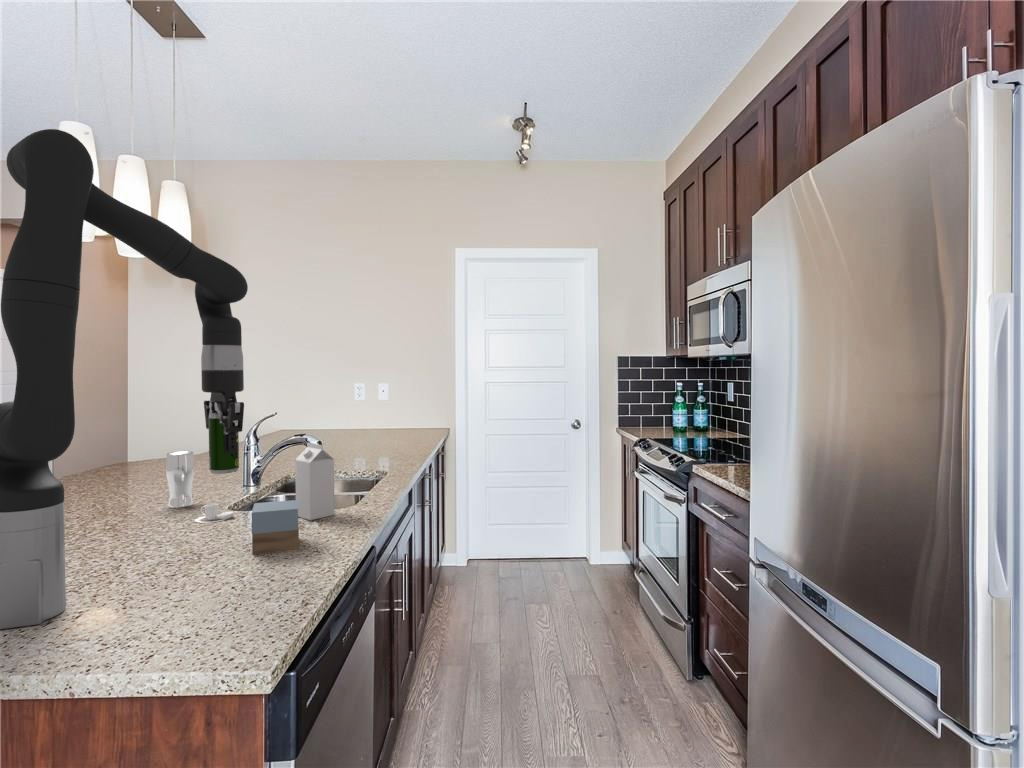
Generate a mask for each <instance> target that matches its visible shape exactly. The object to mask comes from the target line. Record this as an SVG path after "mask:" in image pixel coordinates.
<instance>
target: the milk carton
mask: <svg viewBox="0 0 1024 768" xmlns="http://www.w3.org/2000/svg"><path fill="white" fill-rule="evenodd" d="M323 447H324V445H322V444H317V443H309V442H307V444H306V448H305V449H304V450H302V452H300V454H299V455H298V456H297V457H296V458H295V500H298V518H301V519H304V520H308V521H312V520H313V521H314V520H317V519H323V518H326V517H331V516H335V458H333V457H332V456H331V455H330V454H329V453H328V452H326V451H325V450H324V448H323Z"/></svg>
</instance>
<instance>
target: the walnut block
mask: <svg viewBox="0 0 1024 768" xmlns="http://www.w3.org/2000/svg"><path fill="white" fill-rule="evenodd" d="M299 528H300V527H298V530H291V531H280V532H270V533H259V534H252V533H251V538H252V539H251V541H252V542H251V543H252V545H251V547H252V548H251V551H252V553H251V555H264V554H272V553H282V552H290V551H292V552H293V551H299V550H300V549H299V546H300V543H299V542H300V540H299V539H300V538H299V537H300V536H299Z"/></svg>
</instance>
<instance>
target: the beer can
mask: <svg viewBox="0 0 1024 768" xmlns="http://www.w3.org/2000/svg"><path fill="white" fill-rule="evenodd" d="M223 418H224V419H228V416H223ZM208 419H209V429H208V462H209V463H208V464H209V465H208V467H209V472H210V473H211V474H215V475H221V474H222V475H223V474H224V475H225V474H233V473H236V472H238V471H239V468H240V448H239V447H240V445H239V444H240V442H239V441H240V439H239V433H240V432H238V434H236V435H237V452H236V453H234V454H225V453H224V433H223V428H222V425H221V424H219V417H218V413H210V416H209V418H208ZM227 424H228V423H227ZM237 425H238V422H237ZM232 426H233V425H232Z"/></svg>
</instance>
